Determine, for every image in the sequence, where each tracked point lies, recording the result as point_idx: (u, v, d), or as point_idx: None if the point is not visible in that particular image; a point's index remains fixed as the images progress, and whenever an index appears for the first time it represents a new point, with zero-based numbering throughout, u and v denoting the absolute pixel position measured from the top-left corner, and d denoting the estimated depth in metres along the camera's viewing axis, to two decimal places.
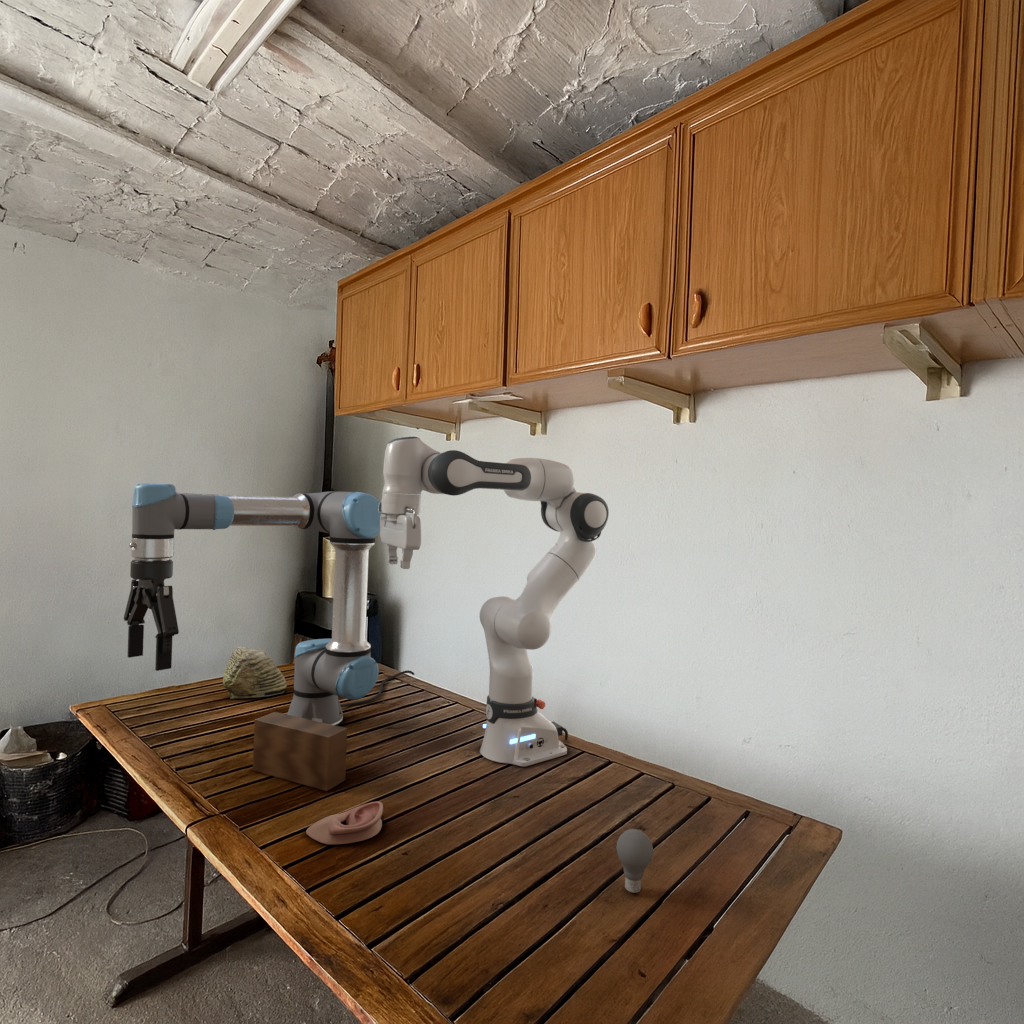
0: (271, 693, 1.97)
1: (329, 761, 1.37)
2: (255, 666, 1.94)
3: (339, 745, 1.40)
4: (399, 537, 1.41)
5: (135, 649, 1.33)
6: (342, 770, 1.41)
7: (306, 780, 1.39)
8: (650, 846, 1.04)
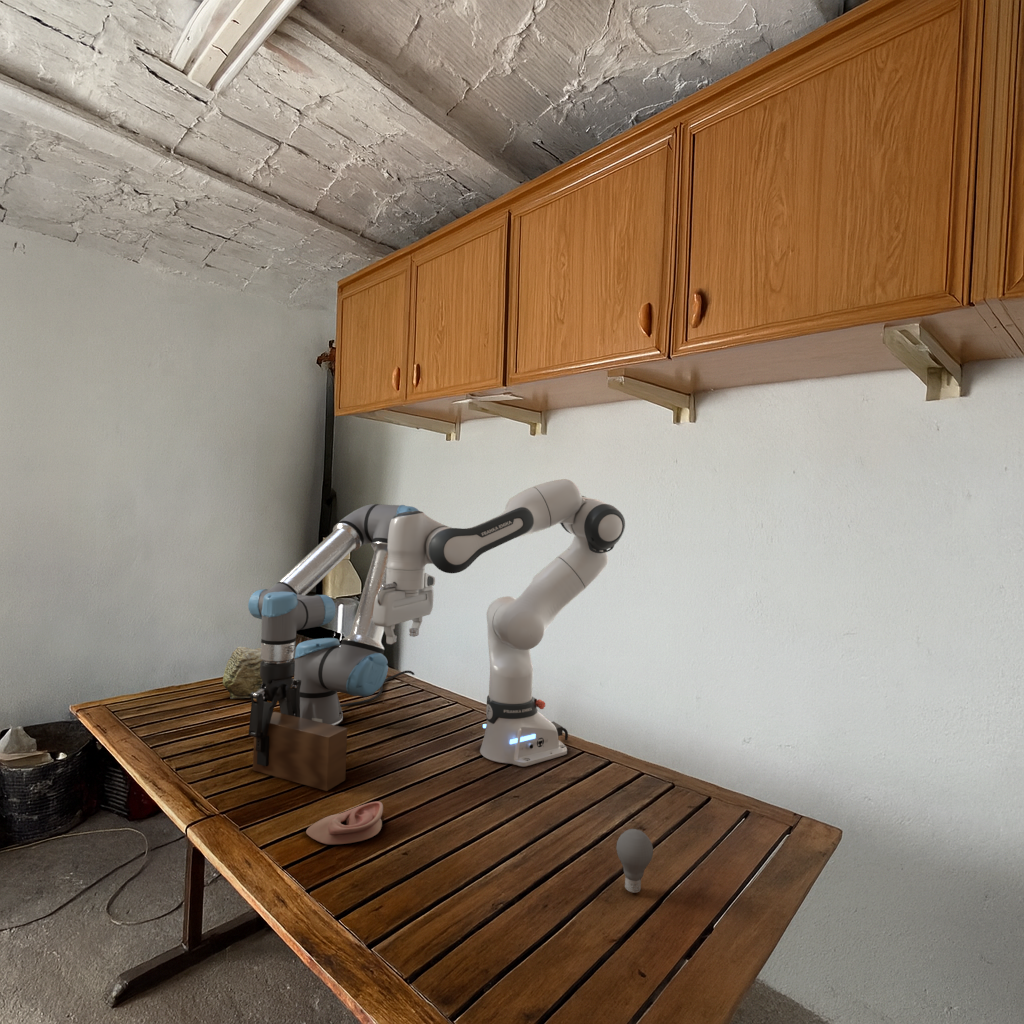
0: None
1: (329, 761, 1.37)
2: (255, 666, 1.94)
3: (339, 745, 1.40)
4: None
5: None
6: (342, 770, 1.41)
7: (306, 780, 1.39)
8: (650, 846, 1.04)
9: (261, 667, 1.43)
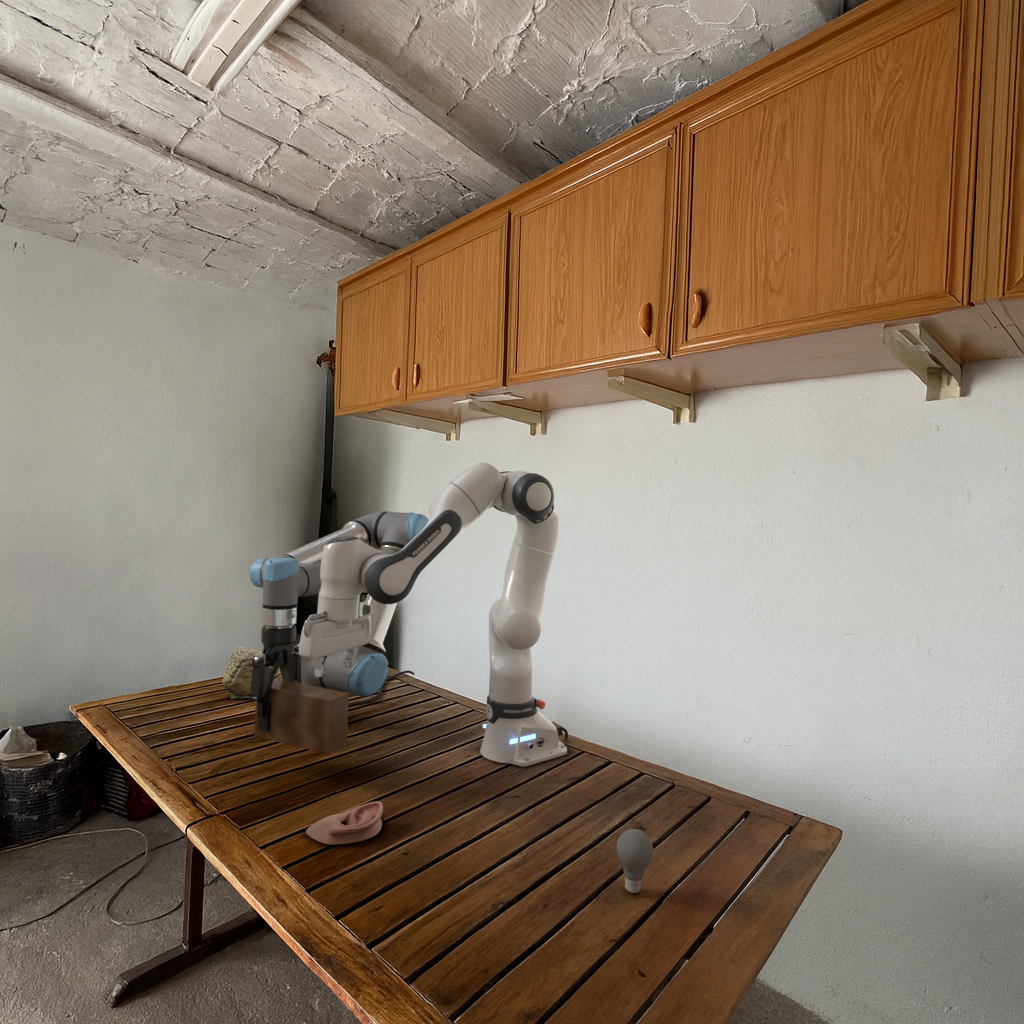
0: None
1: (330, 725, 1.36)
2: None
3: (341, 709, 1.39)
4: None
5: None
6: (343, 735, 1.41)
7: (307, 744, 1.39)
8: (650, 846, 1.04)
9: (262, 632, 1.43)
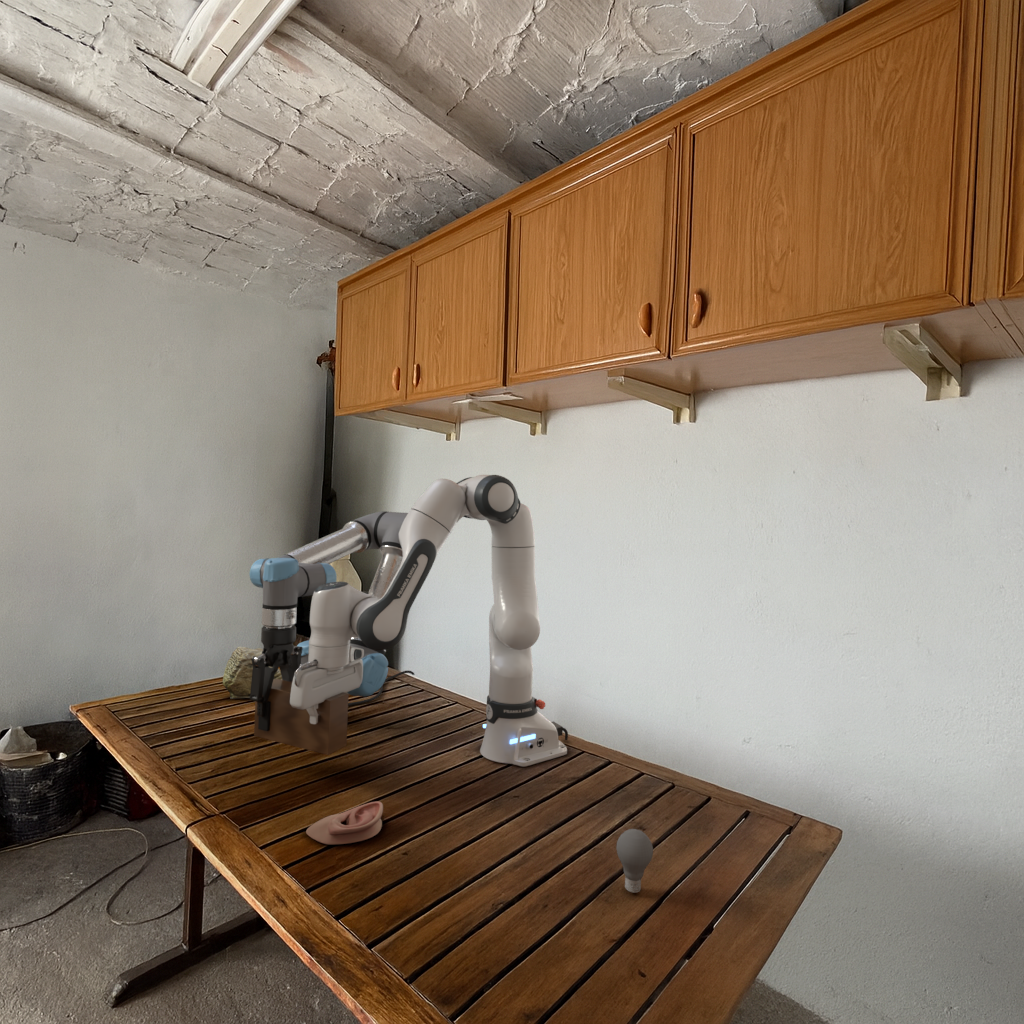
0: None
1: (330, 725, 1.36)
2: None
3: (340, 710, 1.39)
4: None
5: None
6: (343, 735, 1.41)
7: (307, 744, 1.38)
8: (650, 846, 1.04)
9: (262, 632, 1.43)
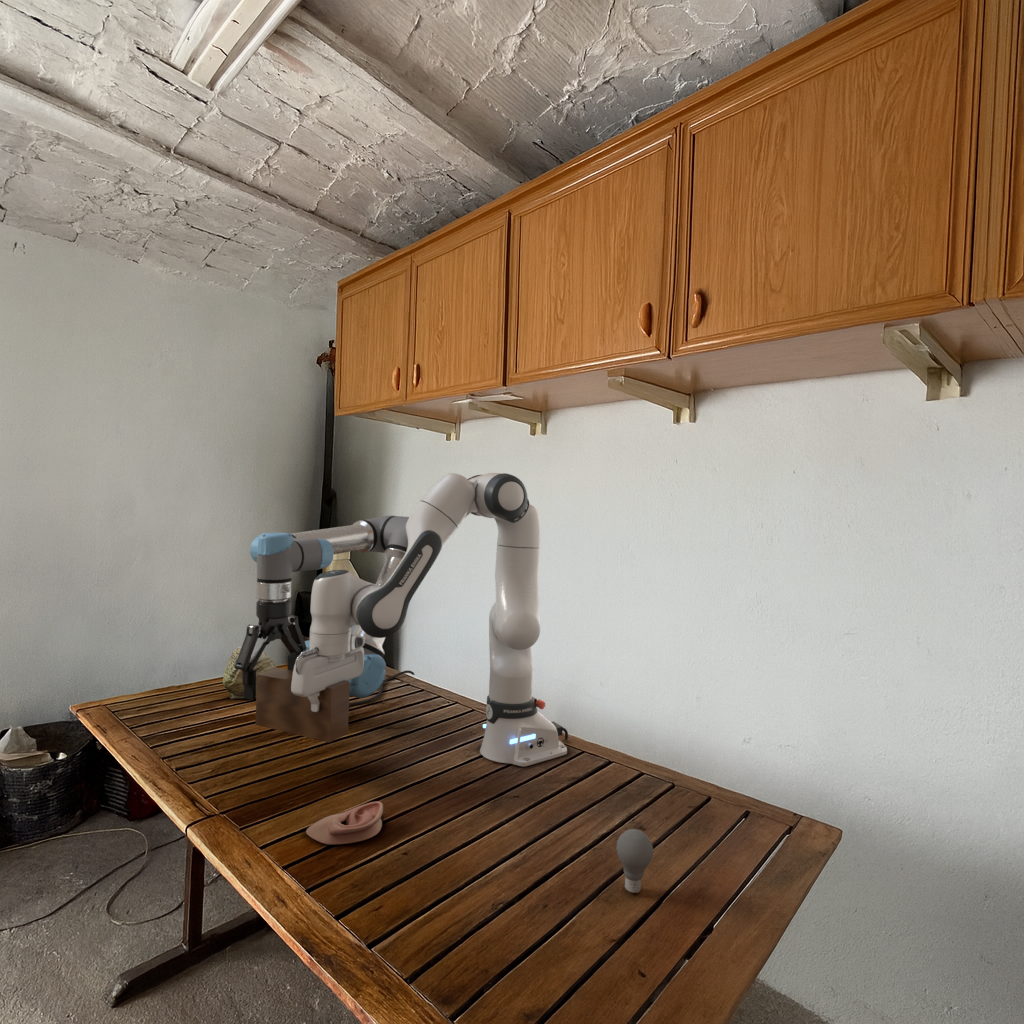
0: None
1: (331, 713, 1.36)
2: (255, 666, 1.94)
3: (341, 697, 1.39)
4: None
5: None
6: (344, 723, 1.41)
7: (308, 732, 1.38)
8: (650, 846, 1.04)
9: (257, 606, 1.44)
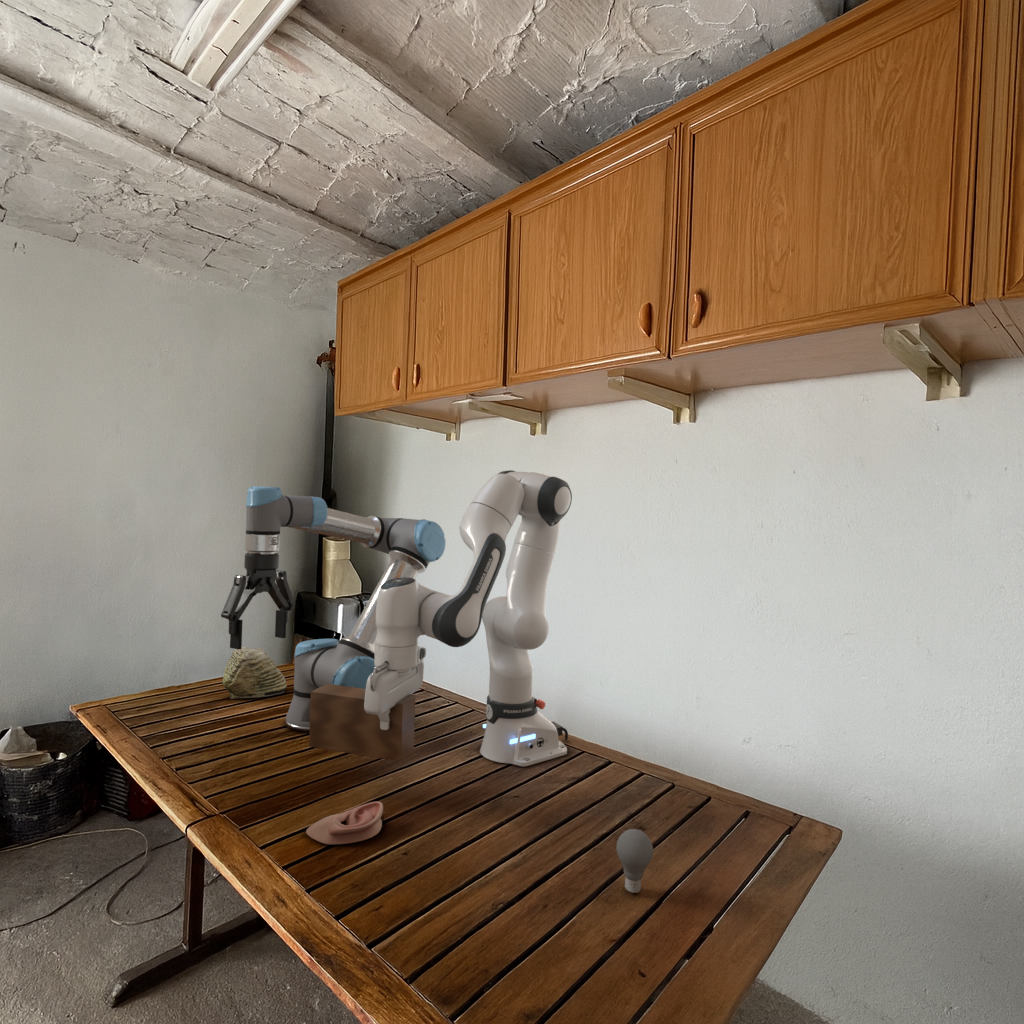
0: (271, 693, 1.97)
1: (402, 730, 1.28)
2: (255, 666, 1.94)
3: (409, 713, 1.31)
4: None
5: None
6: (411, 740, 1.33)
7: (375, 752, 1.30)
8: (650, 846, 1.04)
9: (245, 558, 1.45)
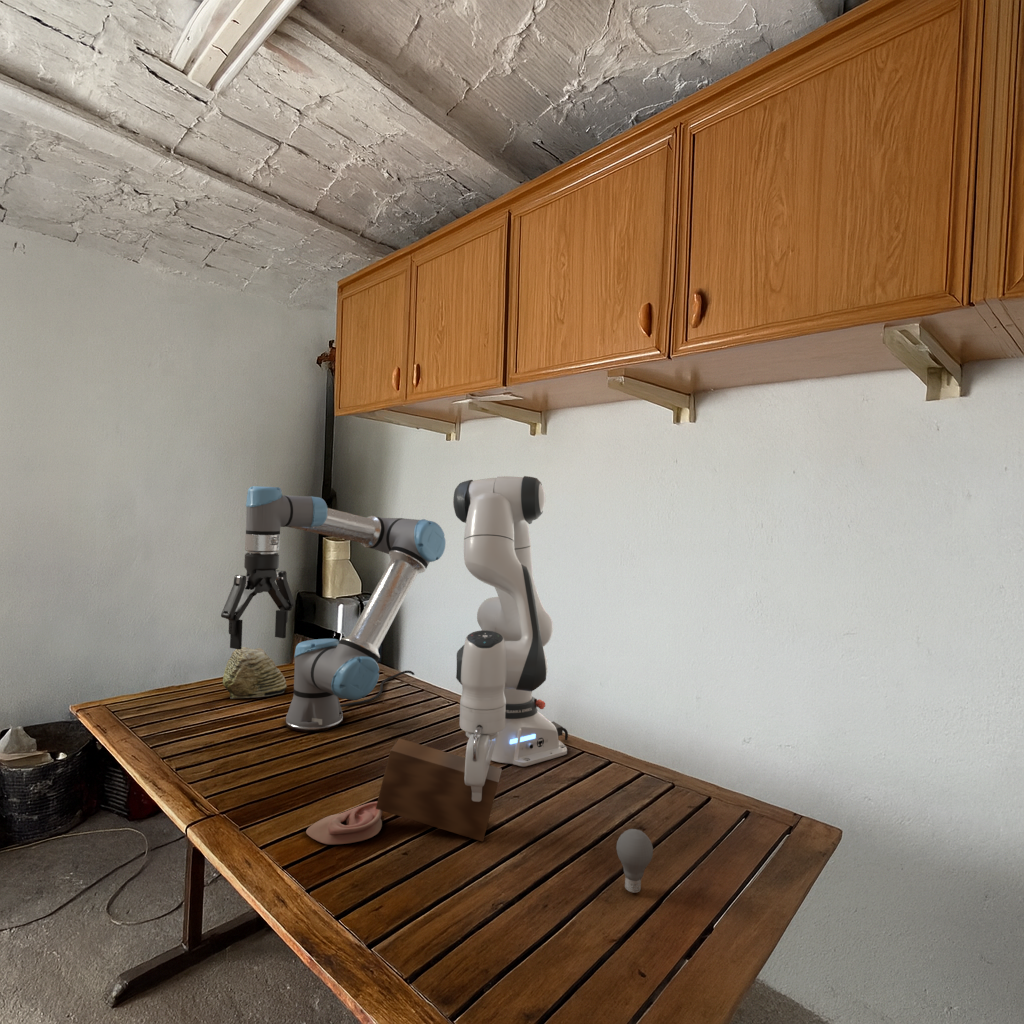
0: (271, 693, 1.97)
1: None
2: (255, 666, 1.94)
3: (496, 789, 1.22)
4: None
5: None
6: None
7: (455, 827, 1.19)
8: (650, 846, 1.04)
9: (245, 558, 1.45)
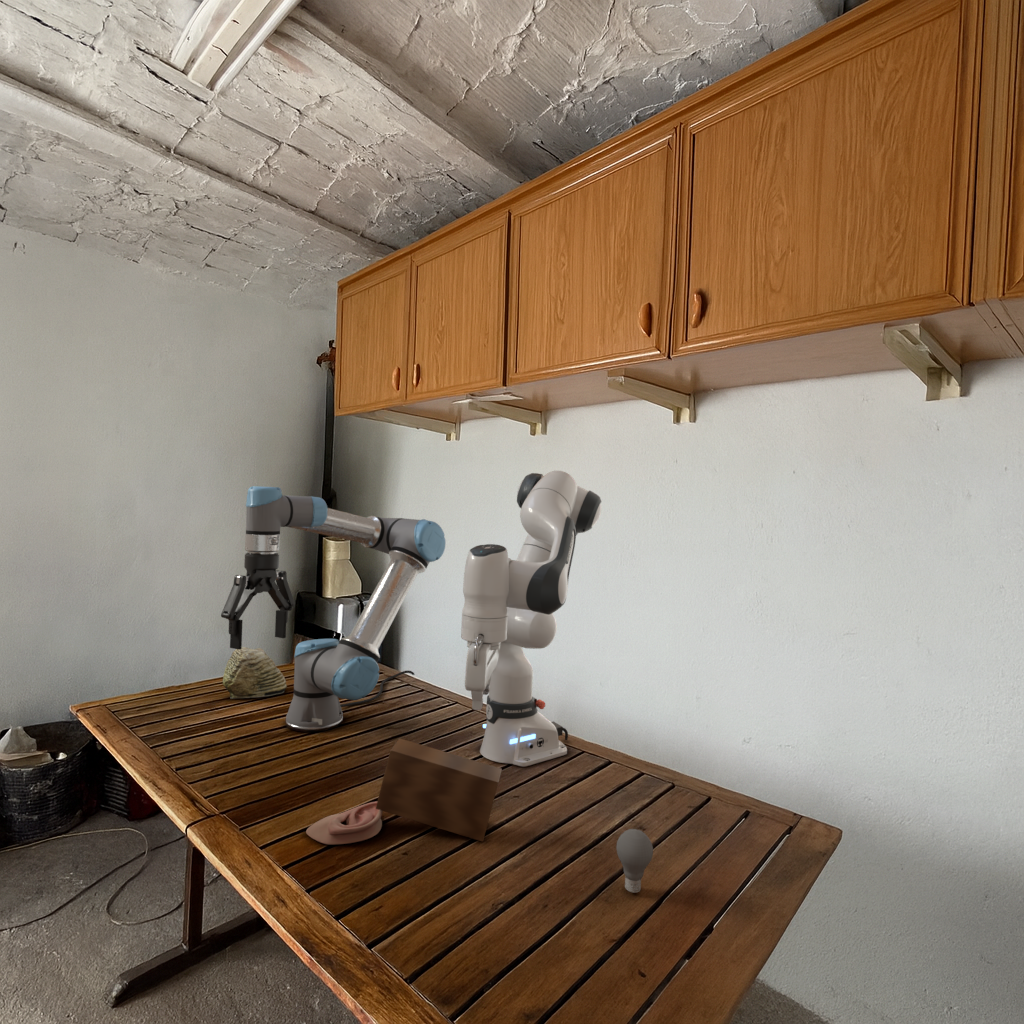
0: (271, 693, 1.97)
1: None
2: (255, 666, 1.94)
3: (496, 789, 1.22)
4: None
5: None
6: None
7: (455, 827, 1.19)
8: (650, 846, 1.04)
9: (245, 558, 1.45)
